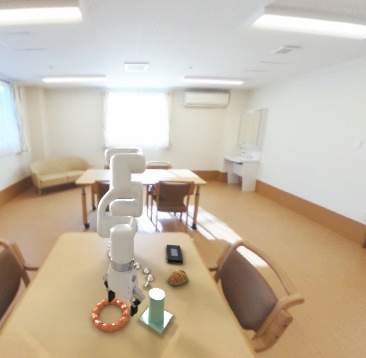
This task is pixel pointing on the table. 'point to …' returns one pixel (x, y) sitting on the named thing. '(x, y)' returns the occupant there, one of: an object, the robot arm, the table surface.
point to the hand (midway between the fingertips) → (122, 306)
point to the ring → (114, 326)
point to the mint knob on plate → (156, 311)
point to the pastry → (178, 277)
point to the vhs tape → (174, 254)
